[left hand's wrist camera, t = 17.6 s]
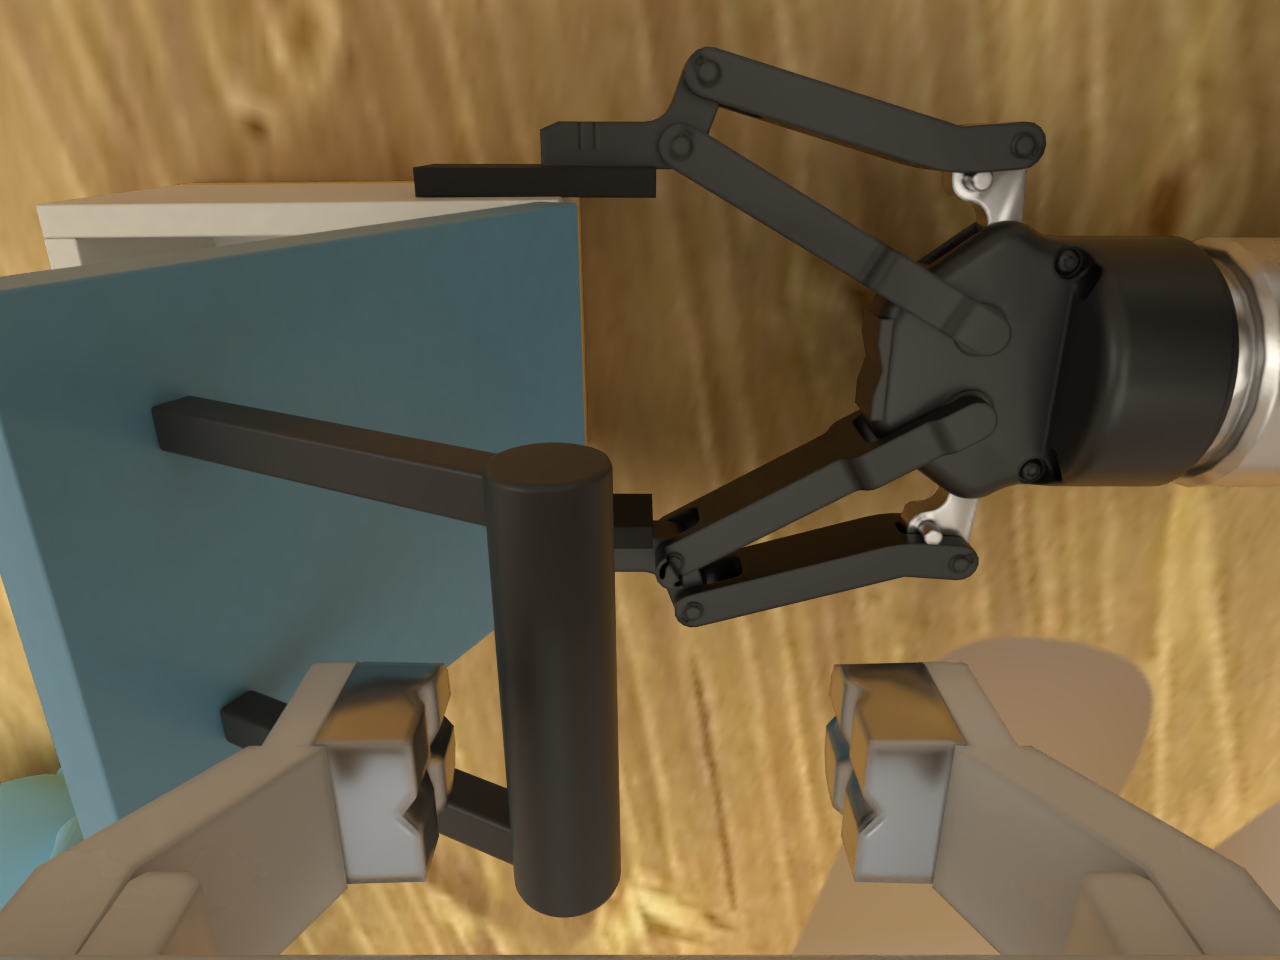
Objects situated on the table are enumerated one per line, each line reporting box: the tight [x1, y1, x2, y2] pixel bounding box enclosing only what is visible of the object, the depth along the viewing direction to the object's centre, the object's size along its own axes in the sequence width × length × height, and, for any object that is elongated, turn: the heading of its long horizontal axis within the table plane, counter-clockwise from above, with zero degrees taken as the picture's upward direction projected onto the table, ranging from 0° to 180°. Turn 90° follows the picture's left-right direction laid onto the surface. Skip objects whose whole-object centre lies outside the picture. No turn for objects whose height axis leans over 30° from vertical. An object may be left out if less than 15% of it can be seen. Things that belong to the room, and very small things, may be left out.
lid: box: [0, 202, 621, 917], centre depth 17 cm, size 14×10×9 cm
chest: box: [36, 181, 588, 446], centre depth 29 cm, size 14×10×9 cm
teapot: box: [0, 767, 84, 911], centre depth 37 cm, size 13×14×11 cm
